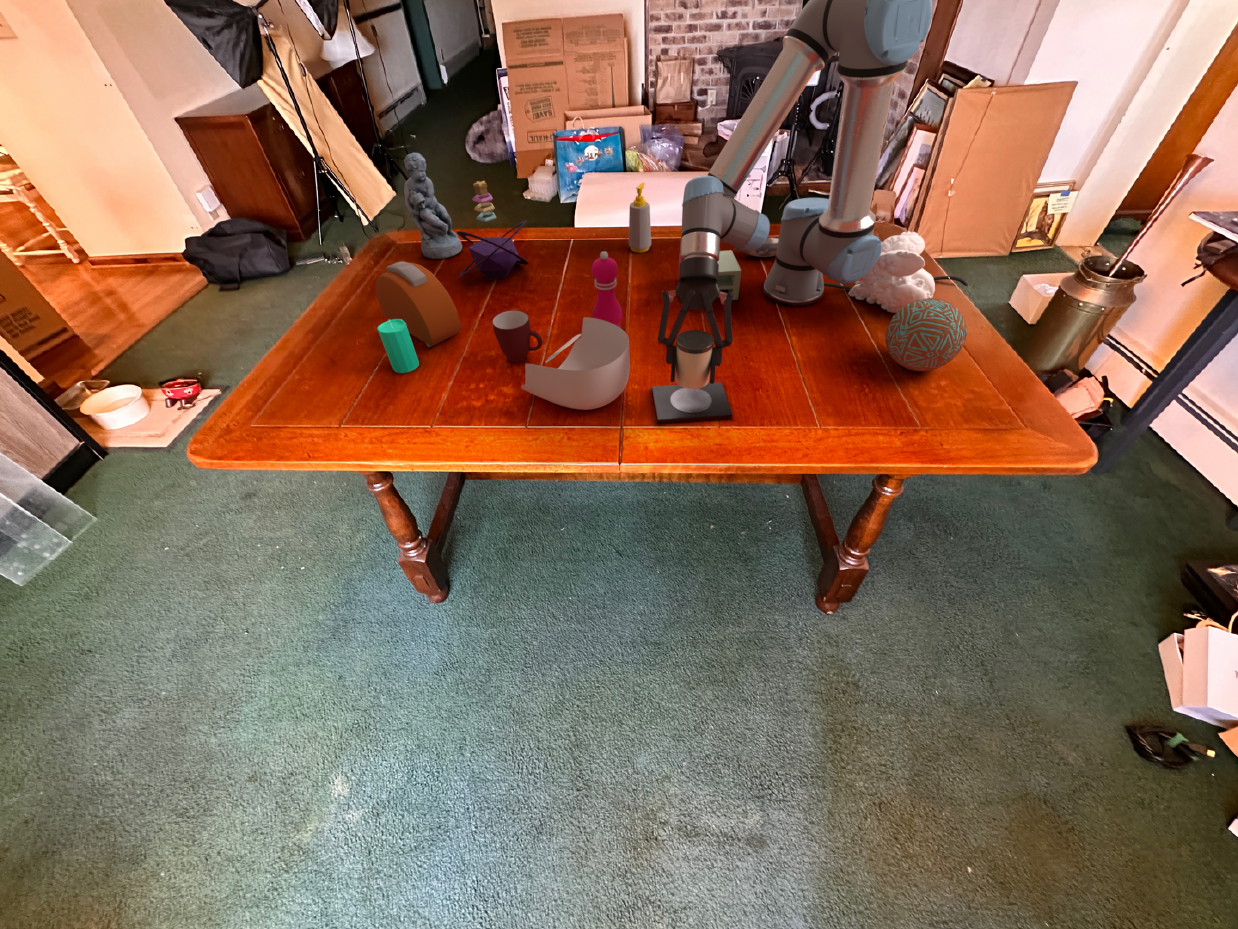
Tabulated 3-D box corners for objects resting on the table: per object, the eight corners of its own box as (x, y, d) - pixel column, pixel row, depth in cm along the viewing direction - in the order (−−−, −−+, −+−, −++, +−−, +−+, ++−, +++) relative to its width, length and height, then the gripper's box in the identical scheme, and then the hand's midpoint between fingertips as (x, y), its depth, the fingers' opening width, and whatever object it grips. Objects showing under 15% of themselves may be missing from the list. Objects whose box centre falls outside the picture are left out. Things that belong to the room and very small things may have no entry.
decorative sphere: (862, 356, 125) (881, 294, 115) (914, 339, 129) (937, 278, 119) (911, 392, 116) (938, 329, 105) (966, 373, 119) (997, 310, 109)
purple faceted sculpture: (551, 268, 162) (539, 176, 145) (503, 299, 150) (484, 203, 132) (493, 253, 171) (475, 164, 154) (444, 281, 159) (418, 188, 141)
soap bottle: (654, 245, 171) (655, 183, 158) (646, 254, 166) (646, 191, 154) (634, 242, 173) (633, 180, 160) (625, 251, 169) (623, 188, 156)
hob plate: (721, 386, 119) (721, 381, 118) (731, 419, 111) (732, 414, 111) (651, 391, 119) (651, 386, 118) (657, 424, 111) (657, 419, 110)
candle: (395, 375, 126) (377, 329, 118) (390, 362, 130) (372, 316, 122) (421, 368, 128) (406, 321, 120) (415, 355, 132) (400, 309, 124)
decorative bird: (732, 250, 166) (734, 233, 163) (818, 253, 163) (822, 236, 159) (732, 259, 162) (733, 242, 158) (820, 263, 159) (824, 246, 155)
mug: (548, 348, 132) (542, 310, 125) (542, 368, 126) (536, 329, 119) (504, 348, 133) (496, 310, 126) (497, 367, 127) (488, 329, 120)
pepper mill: (619, 340, 134) (616, 259, 119) (590, 338, 135) (583, 257, 121) (625, 324, 139) (623, 245, 124) (597, 322, 140) (591, 243, 126)
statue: (447, 273, 171) (454, 188, 150) (381, 239, 170) (379, 150, 150) (467, 256, 179) (477, 173, 158) (403, 223, 178) (405, 136, 158)
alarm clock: (466, 338, 137) (449, 273, 125) (435, 353, 132) (414, 288, 120) (414, 307, 148) (394, 246, 137) (384, 321, 144) (361, 258, 132)
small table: (728, 278, 154) (731, 250, 148) (737, 299, 145) (741, 270, 140) (678, 281, 154) (679, 253, 148) (684, 303, 145) (686, 273, 140)
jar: (706, 368, 113) (710, 328, 107) (712, 388, 108) (716, 348, 102) (672, 369, 113) (674, 330, 107) (676, 390, 108) (678, 350, 102)
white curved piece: (596, 431, 110) (592, 382, 102) (521, 401, 118) (511, 353, 110) (646, 378, 122) (646, 331, 114) (575, 354, 130) (570, 309, 121)
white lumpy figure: (963, 296, 125) (898, 237, 123) (889, 352, 139) (830, 301, 138) (964, 265, 137) (905, 211, 136) (896, 320, 152) (842, 272, 150)
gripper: (748, 270, 110) (742, 386, 110) (648, 268, 112) (642, 382, 112) (754, 255, 102) (747, 380, 102) (646, 253, 104) (639, 376, 104)
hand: (692, 381), depth 107 cm, fingers closed on jar, 7 cm apart
